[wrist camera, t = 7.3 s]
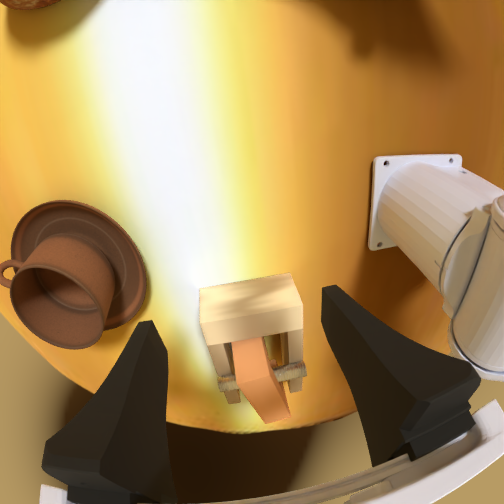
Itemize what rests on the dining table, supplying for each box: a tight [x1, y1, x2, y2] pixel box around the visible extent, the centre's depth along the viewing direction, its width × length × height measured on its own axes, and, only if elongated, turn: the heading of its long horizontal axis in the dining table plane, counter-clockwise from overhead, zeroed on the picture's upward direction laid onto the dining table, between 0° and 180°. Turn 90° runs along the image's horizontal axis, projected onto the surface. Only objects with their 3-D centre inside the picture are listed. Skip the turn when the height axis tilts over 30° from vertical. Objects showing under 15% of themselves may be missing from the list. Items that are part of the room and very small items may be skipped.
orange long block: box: [231, 337, 291, 424], centre depth 24 cm, size 2×8×6 cm, turn 17°
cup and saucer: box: [0, 200, 146, 349], centre depth 19 cm, size 12×12×6 cm
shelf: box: [200, 273, 307, 404], centre depth 25 cm, size 7×12×5 cm, turn 7°
